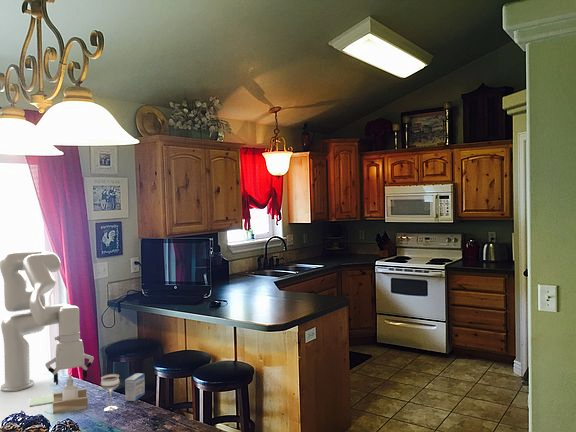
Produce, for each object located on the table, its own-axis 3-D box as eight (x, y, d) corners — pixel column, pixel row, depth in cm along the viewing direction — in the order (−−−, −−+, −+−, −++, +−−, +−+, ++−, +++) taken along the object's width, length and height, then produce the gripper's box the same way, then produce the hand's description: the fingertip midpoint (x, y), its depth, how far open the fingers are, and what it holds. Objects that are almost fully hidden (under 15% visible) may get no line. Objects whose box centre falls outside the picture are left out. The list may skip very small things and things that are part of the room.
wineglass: (123, 406, 183) (123, 375, 183) (108, 413, 177) (108, 381, 177) (112, 403, 187) (111, 373, 187) (97, 409, 181) (96, 378, 181)
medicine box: (135, 401, 188) (134, 379, 188) (125, 401, 189) (124, 379, 189) (145, 394, 196) (144, 373, 196) (135, 393, 197) (134, 372, 197)
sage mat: (31, 399, 193) (31, 397, 193) (55, 395, 197) (55, 393, 197) (29, 406, 185) (29, 405, 185) (55, 402, 189) (55, 401, 189)
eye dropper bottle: (68, 409, 182) (68, 378, 182) (61, 406, 185) (60, 375, 185) (79, 405, 185) (79, 374, 185) (71, 402, 189) (71, 372, 189)
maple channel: (53, 403, 188) (53, 393, 188) (86, 398, 193) (86, 388, 193) (53, 414, 178) (52, 403, 178) (87, 408, 183) (87, 397, 183)
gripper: (44, 343, 178) (45, 388, 178) (93, 337, 186) (95, 380, 185) (45, 338, 185) (46, 382, 185) (92, 333, 192) (94, 375, 192)
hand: (70, 381), depth 185 cm, fingers open, 9 cm apart
